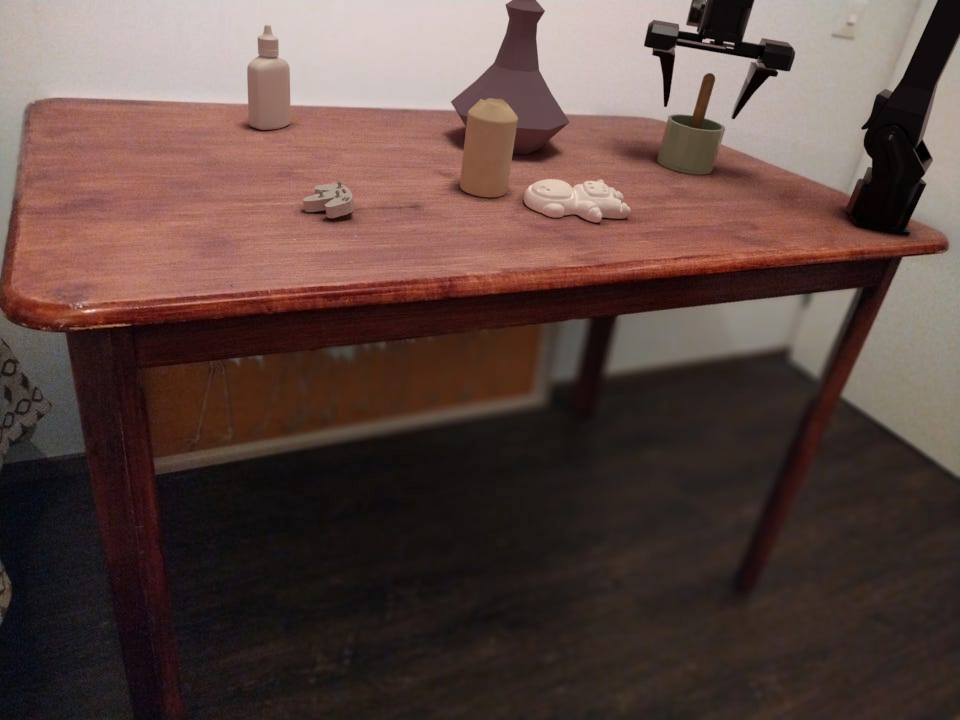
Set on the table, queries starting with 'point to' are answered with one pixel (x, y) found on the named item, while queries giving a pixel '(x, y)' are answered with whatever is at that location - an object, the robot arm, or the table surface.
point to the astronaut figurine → (576, 200)
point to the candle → (488, 148)
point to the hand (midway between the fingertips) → (698, 112)
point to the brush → (702, 101)
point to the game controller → (331, 200)
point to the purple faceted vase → (518, 81)
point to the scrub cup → (690, 145)
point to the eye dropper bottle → (268, 85)
